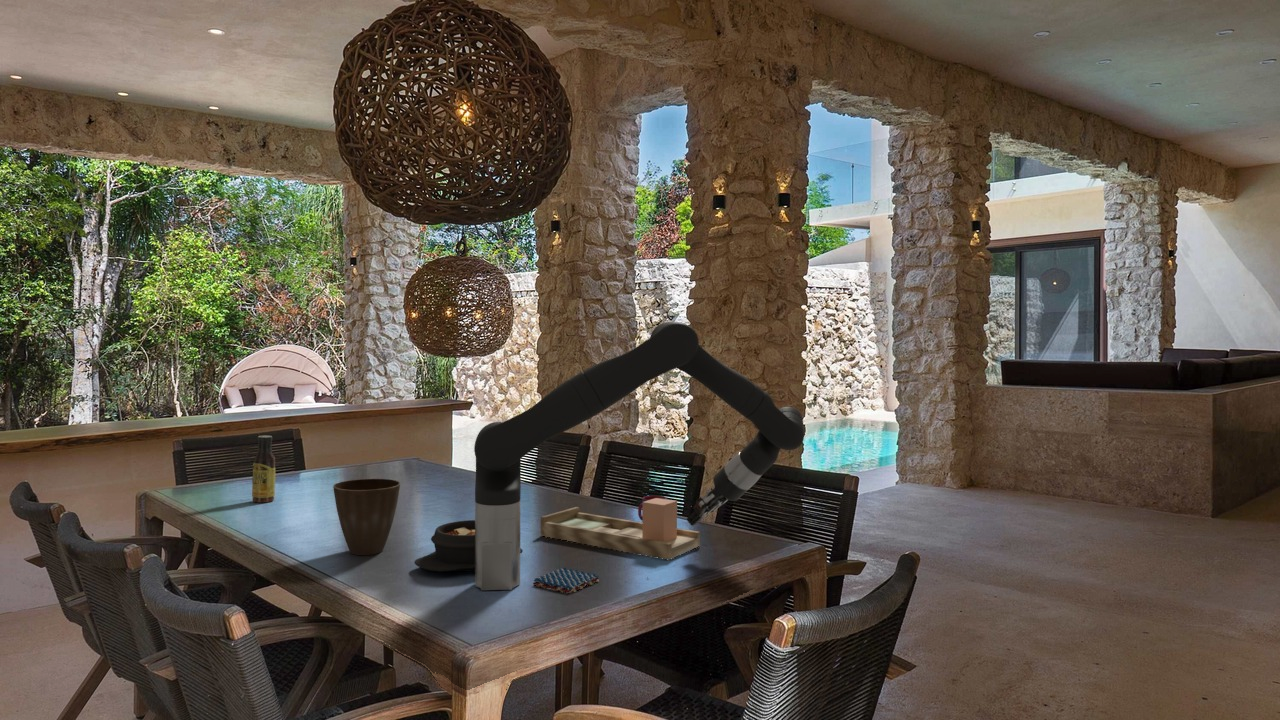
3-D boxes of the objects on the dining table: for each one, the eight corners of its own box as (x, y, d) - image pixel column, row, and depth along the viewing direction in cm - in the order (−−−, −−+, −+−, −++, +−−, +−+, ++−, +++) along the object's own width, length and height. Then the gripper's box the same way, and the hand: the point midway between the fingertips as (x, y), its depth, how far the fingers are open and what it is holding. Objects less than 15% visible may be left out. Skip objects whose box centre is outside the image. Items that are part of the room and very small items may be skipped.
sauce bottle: (247, 502, 246) (246, 436, 246) (262, 498, 252) (262, 434, 252) (265, 504, 244) (264, 437, 244) (280, 500, 250) (279, 435, 250)
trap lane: (699, 546, 200) (699, 526, 199) (668, 560, 188) (668, 538, 187) (575, 525, 221) (575, 506, 220) (540, 536, 209) (540, 516, 208)
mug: (671, 523, 224) (672, 498, 224) (645, 528, 217) (645, 503, 217) (654, 518, 229) (654, 494, 229) (628, 524, 222) (628, 499, 222)
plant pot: (377, 539, 204) (377, 475, 204) (413, 550, 195) (412, 483, 194) (321, 552, 193) (320, 484, 192) (356, 564, 183) (356, 492, 183)
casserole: (444, 586, 168) (444, 545, 168) (397, 567, 181) (397, 529, 181) (540, 562, 186) (540, 525, 186) (491, 546, 199) (491, 512, 199)
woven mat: (529, 588, 168) (529, 578, 168) (562, 575, 177) (562, 566, 177) (569, 597, 163) (570, 587, 163) (601, 584, 172) (601, 574, 171)
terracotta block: (676, 537, 198) (677, 500, 198) (663, 543, 193) (664, 505, 193) (655, 534, 201) (656, 497, 201) (642, 539, 196) (642, 502, 196)
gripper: (741, 459, 192) (694, 504, 199) (714, 466, 181) (666, 514, 188) (761, 484, 189) (713, 529, 196) (735, 493, 178) (685, 540, 185)
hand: (690, 522), depth 192 cm, fingers closed
